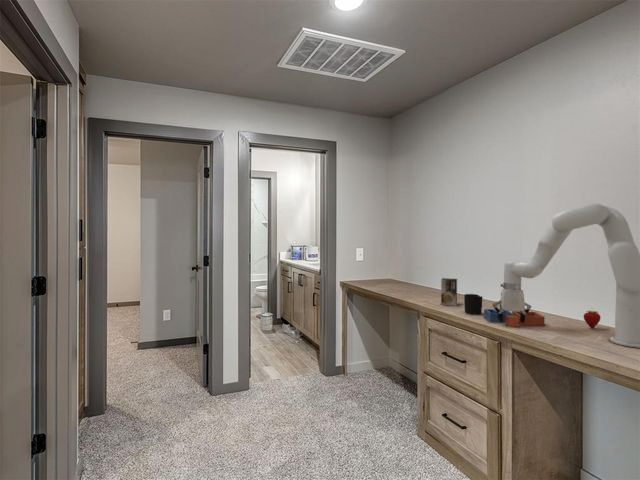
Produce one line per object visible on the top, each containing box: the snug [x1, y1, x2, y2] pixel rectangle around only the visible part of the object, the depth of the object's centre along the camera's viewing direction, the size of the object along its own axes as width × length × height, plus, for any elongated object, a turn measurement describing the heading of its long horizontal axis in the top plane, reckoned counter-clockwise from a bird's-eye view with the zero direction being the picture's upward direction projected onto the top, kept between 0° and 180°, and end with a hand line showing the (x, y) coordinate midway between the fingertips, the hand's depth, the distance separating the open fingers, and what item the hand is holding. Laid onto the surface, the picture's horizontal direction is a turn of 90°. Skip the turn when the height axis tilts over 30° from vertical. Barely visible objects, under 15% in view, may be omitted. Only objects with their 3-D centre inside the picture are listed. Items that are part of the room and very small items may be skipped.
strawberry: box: [583, 307, 601, 329], centre depth 176 cm, size 6×8×10 cm
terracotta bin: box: [511, 311, 546, 327], centre depth 187 cm, size 11×11×4 cm
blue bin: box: [483, 308, 514, 324], centre depth 192 cm, size 11×11×4 cm
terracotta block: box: [504, 315, 519, 328], centre depth 180 cm, size 4×4×4 cm
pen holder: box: [463, 293, 483, 316], centre depth 208 cm, size 9×9×10 cm
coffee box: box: [440, 277, 458, 307], centre depth 232 cm, size 9×6×16 cm
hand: (511, 321), depth 180 cm, fingers open, 9 cm apart
